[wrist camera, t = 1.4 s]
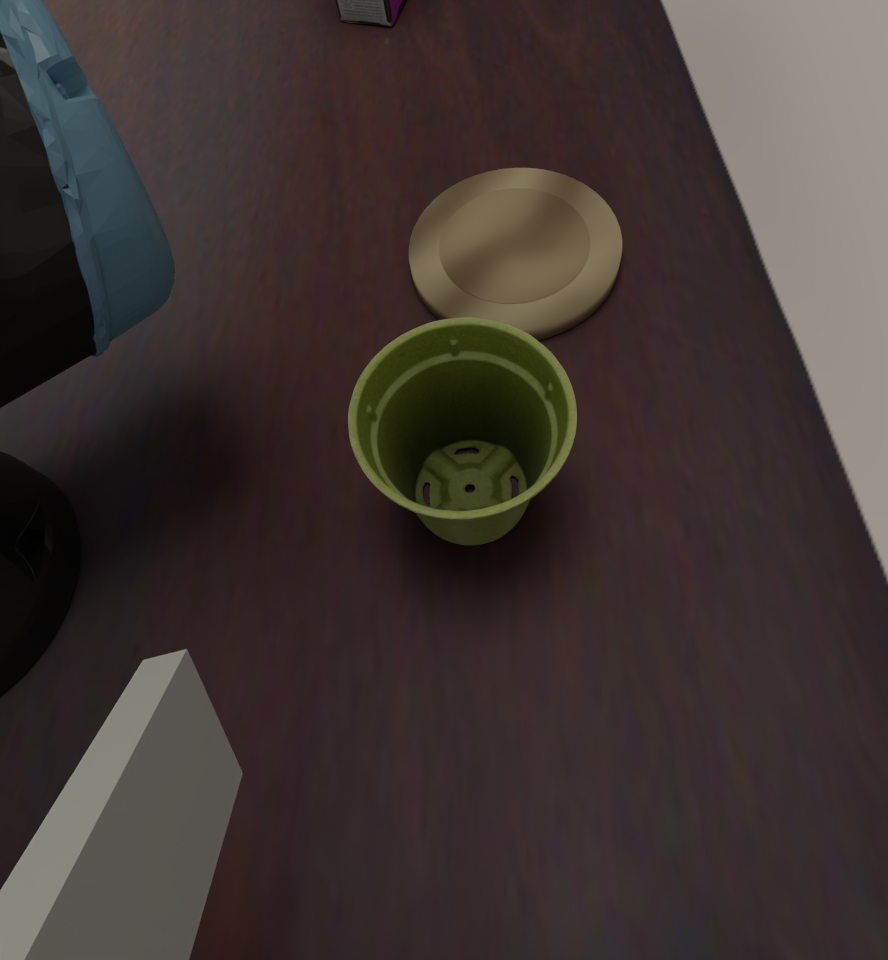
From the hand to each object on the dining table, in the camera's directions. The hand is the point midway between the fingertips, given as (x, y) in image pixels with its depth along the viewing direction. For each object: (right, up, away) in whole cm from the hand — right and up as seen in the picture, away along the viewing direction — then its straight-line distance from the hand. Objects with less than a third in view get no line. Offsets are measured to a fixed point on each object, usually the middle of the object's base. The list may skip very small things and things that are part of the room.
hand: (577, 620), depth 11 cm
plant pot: (-1, +2, +23) cm, 23 cm away
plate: (+2, +16, +29) cm, 33 cm away
